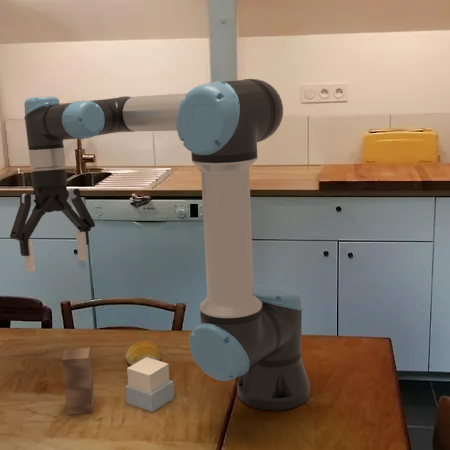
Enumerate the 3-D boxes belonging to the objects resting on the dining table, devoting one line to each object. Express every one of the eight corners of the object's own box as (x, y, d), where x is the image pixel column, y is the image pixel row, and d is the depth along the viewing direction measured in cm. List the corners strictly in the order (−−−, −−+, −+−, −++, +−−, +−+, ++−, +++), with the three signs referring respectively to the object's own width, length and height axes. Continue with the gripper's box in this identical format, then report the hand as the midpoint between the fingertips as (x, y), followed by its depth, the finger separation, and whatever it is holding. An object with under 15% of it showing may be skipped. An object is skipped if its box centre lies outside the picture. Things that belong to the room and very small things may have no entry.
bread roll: (158, 350, 170) (157, 334, 169) (163, 366, 161) (162, 349, 160) (124, 354, 168) (123, 338, 167) (127, 370, 160) (126, 354, 159)
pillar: (94, 400, 146) (90, 347, 143) (92, 412, 141) (88, 357, 138) (70, 402, 146) (65, 349, 143) (67, 414, 141) (62, 359, 138)
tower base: (174, 398, 146) (173, 381, 145) (152, 413, 141) (151, 395, 140) (148, 390, 150) (147, 373, 149) (126, 404, 145) (125, 386, 144)
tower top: (169, 381, 145) (168, 363, 144) (150, 393, 141) (149, 375, 140) (147, 374, 149) (146, 357, 148) (128, 386, 144) (127, 368, 143)
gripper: (85, 165, 165) (93, 255, 167) (-14, 174, 147) (-3, 274, 149) (104, 164, 160) (113, 257, 162) (5, 173, 142) (16, 276, 144)
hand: (57, 265), depth 156 cm, fingers open, 13 cm apart
